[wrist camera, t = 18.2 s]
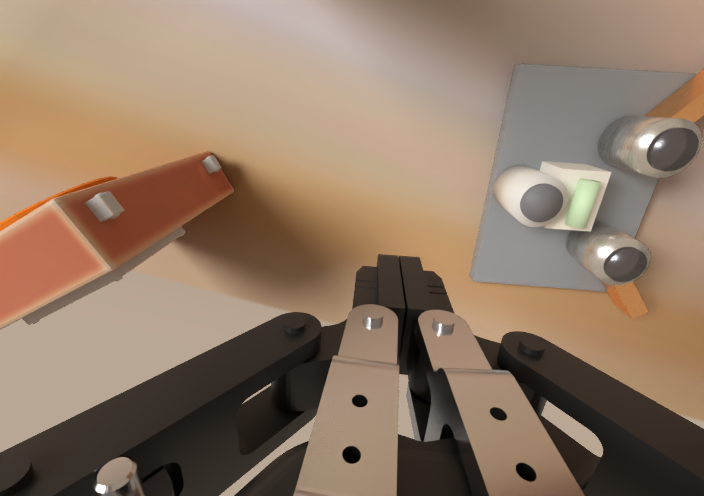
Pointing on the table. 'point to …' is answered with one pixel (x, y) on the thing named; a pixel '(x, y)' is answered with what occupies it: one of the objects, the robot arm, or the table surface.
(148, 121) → the table surface
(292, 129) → the table surface
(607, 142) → the knob
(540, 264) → the levelling plate
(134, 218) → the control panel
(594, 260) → the knob
